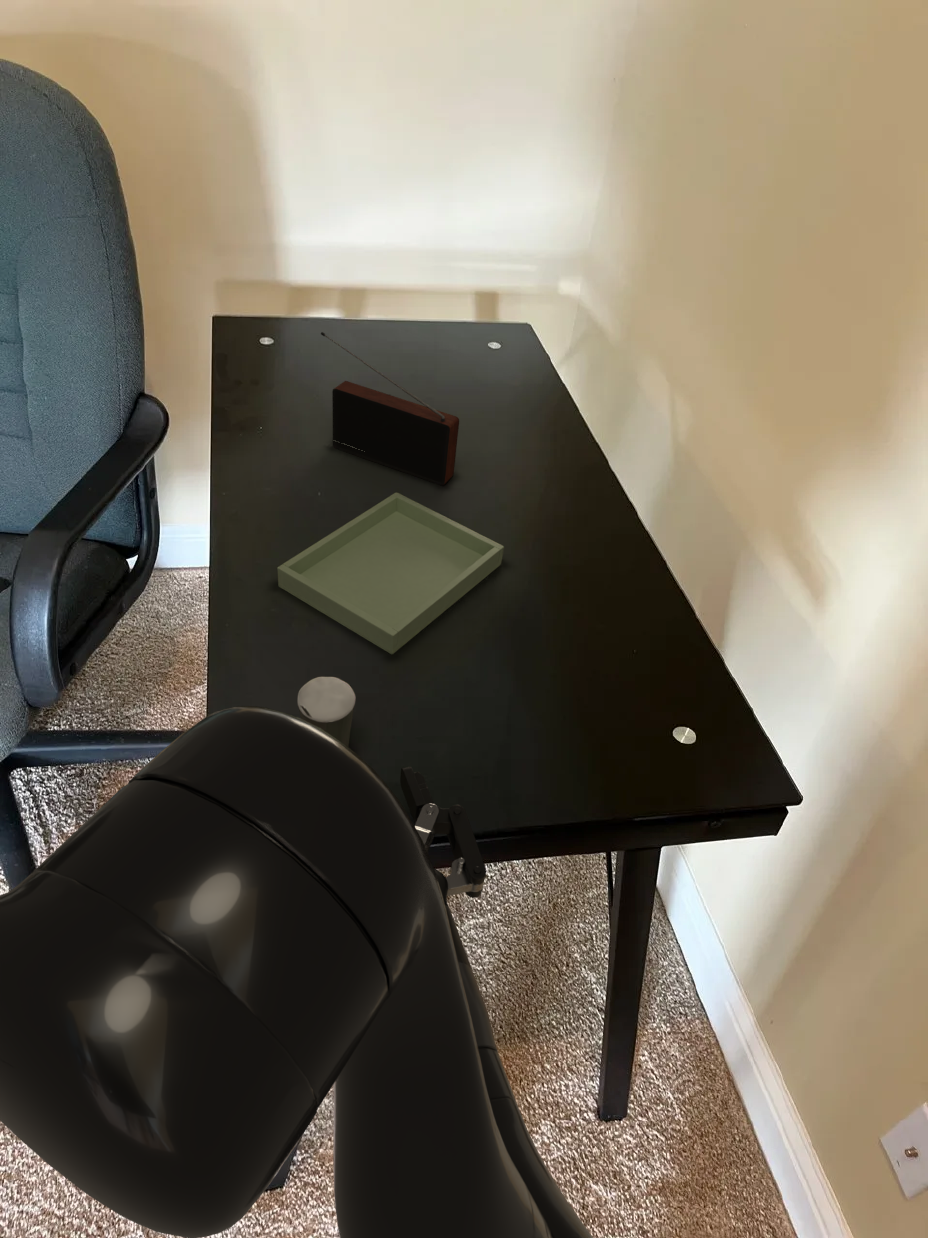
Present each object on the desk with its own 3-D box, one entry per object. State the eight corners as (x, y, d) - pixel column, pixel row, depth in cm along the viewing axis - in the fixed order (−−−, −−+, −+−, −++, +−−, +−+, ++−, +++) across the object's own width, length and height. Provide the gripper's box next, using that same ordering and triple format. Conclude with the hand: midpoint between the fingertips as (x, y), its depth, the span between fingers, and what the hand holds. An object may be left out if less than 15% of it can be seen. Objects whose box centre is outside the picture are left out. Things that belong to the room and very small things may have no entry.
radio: (454, 475, 107) (466, 366, 97) (444, 486, 105) (455, 376, 95) (332, 433, 112) (331, 325, 102) (319, 442, 110) (317, 333, 100)
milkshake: (283, 774, 70) (277, 694, 63) (321, 733, 73) (319, 653, 67) (328, 798, 68) (326, 719, 62) (364, 755, 72) (366, 676, 65)
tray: (392, 655, 82) (393, 636, 80) (278, 586, 88) (276, 567, 86) (501, 564, 94) (504, 546, 92) (395, 509, 100) (396, 491, 98)
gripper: (534, 936, 49) (444, 733, 60) (294, 1011, 45) (245, 776, 56) (516, 991, 54) (436, 794, 65) (299, 1064, 50) (253, 839, 61)
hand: (348, 786), depth 60 cm, fingers open, 8 cm apart
